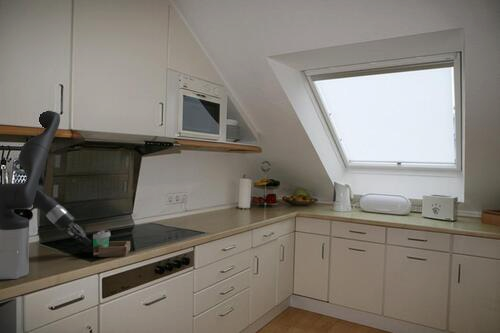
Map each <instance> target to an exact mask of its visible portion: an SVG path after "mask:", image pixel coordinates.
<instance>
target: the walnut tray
mask: <svg viewBox="0 0 500 333" xmlns="http://www.w3.org/2000/svg"><path fill="white" fill-rule="evenodd" d="M130 250H131V240H120V241H119V240H118V241H115V240H114V241H109V244H108V247H99V248H98V256H97V257H98V258H106V257H107V258H110V257H112V258H113V257H127V255H128V254H129V252H130Z"/></svg>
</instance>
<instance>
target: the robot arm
mask: <svg viewBox="0 0 500 333" xmlns="http://www.w3.org/2000/svg"><path fill="white" fill-rule="evenodd" d="M39 122H40V124H41V125H42V127H44V128H46V129H45V130H44V131H42V132H41V133H39V134H37V136H29V135H28V140H27V141H25V143H23V145H22V147H21V150H20V152H19V155H18V162H19V165H20V167H21V169H22V170H23V172H24V174H25V178H26V179H25V181H24V182H23V183H22V182H21V183H20V182H9V183H8V182H7V183H6V182H5V183H2V184H0V280H15V279H16V280H17V279H19V278H22V277H25V276H28V274H29V273H30V272H29V270H30V268H29V266H30V265H29V264H30V257H29V256H30V255H29V254H30V220H29V219H28V218H27V217H23V216H21V215H19V214H17V213H15V212H14V209H15V210H23V209H24V210H25V209H29V208H31V206H33V207H35V208H36V209H38V210H39V211H40V212H41V213H42V214H43V215H45V216H46V217H47V219H48V220H49V221H50V222H51V223H52V224H53V225H54V226H55V227H56V228H58V229H59V230H60V231H63V230H66V232H67V233H68V234H67V236H69V237H71V238H73V239H74V240H76V241H81V242H82V243H83V244H84V245H86V247H88V246H90V245H91V243H92V240H91V239H89V238H88V237H87V233H86V232H85V230H84V229H83V227H82V225H78V223H75V222H74V221H75V220H76V217H75V216H73V215H72V214H71V213H70V211H68V210H67V209H66V208H65V207H64V206H62V205H61V204H60V203H58V202H57V201H56V200H55V199H54V198H53V197H52V196H48V195H46V194H45V193H44V192H45V171H46V164H47V159H48V155H49V152H50V148H51V145H52V142H53V140H54V138H55V136H56V133H57V132H58V128H59V126H60V122H61V116H60V114H59V113H58V112H56V111H54V112H53V110H48V111H46V112H43V113H42V114H40V117H39Z"/></svg>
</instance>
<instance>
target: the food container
mask: <svg viewBox="0 0 500 333" xmlns="http://www.w3.org/2000/svg"><path fill="white" fill-rule="evenodd" d="M110 237H111V231H110V230H109V229H106V228H105V229H98V231H97V232H96V233H94V234H92V242H93V244H92V245H93V247H92V248H93V251H92V252H93V254H92V255H93V257H98V248H99V247H108V244H109V242H110V241H109V240H110Z"/></svg>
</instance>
